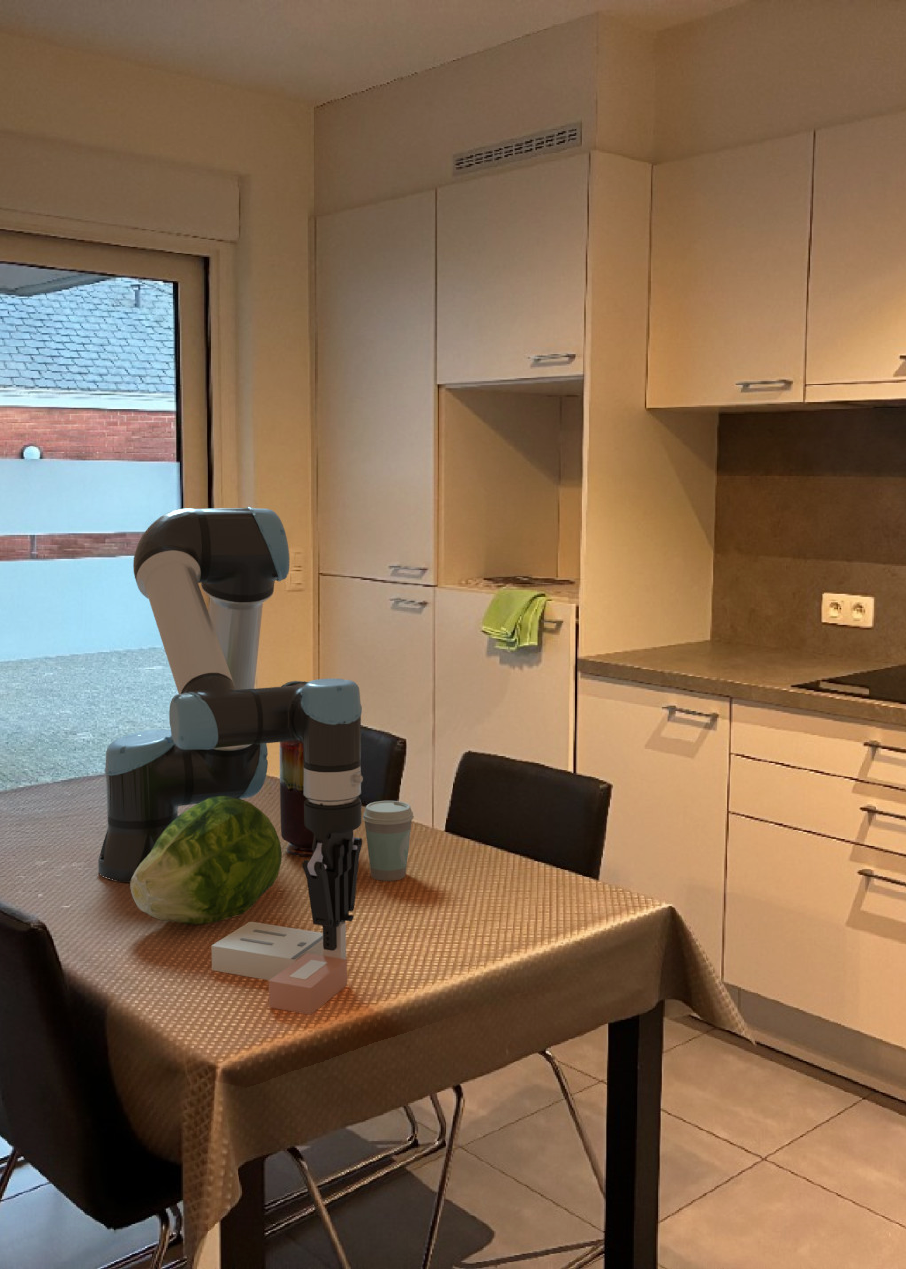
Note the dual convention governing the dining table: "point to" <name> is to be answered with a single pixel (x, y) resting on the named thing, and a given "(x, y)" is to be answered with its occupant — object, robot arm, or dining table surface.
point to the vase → (293, 800)
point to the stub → (307, 983)
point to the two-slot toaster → (263, 949)
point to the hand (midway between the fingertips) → (334, 969)
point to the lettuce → (209, 863)
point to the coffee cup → (388, 838)
